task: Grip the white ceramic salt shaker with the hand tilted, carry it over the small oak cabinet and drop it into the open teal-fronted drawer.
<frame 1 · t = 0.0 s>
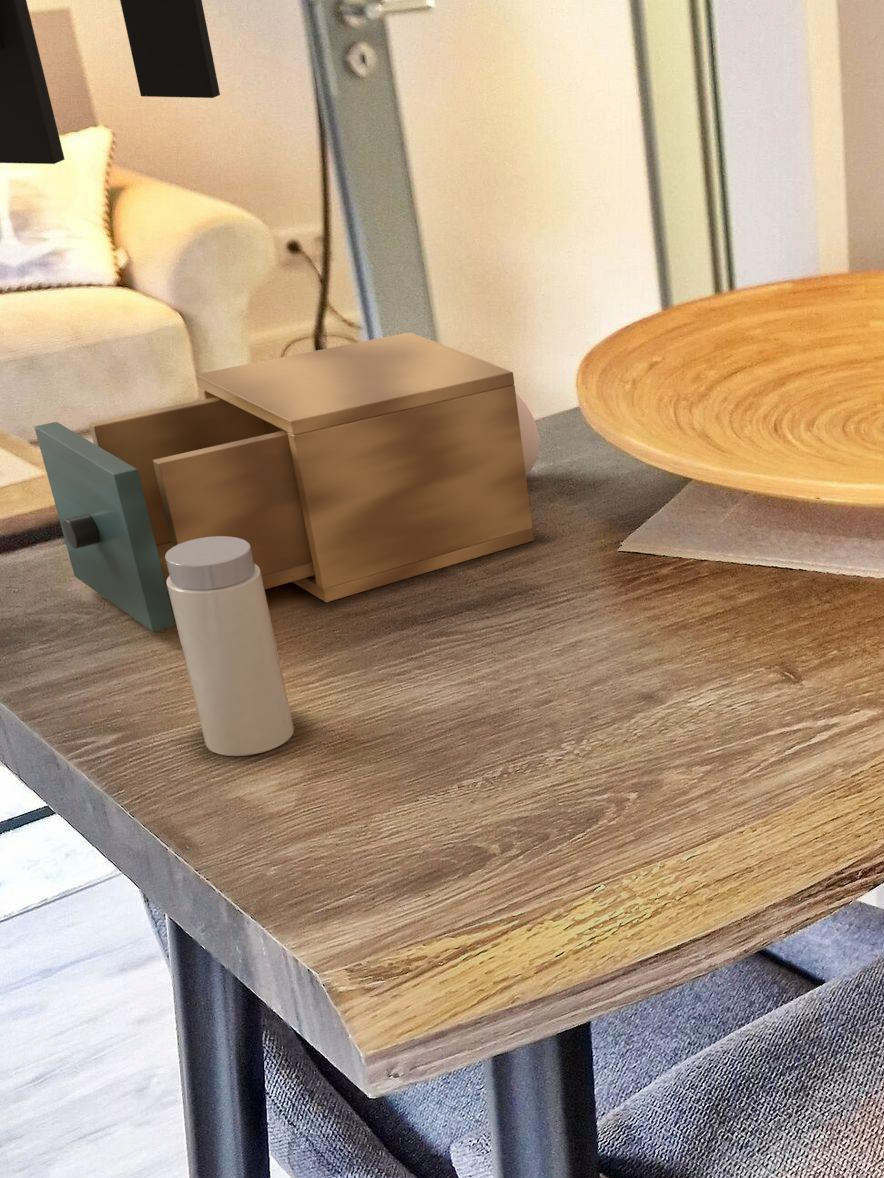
hand: (106, 126, 60), 30 cm above the table, tool pointing down, fingers open, 13 cm apart
salt shaker: (250, 736, 83), on the table
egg: (507, 486, 114), on the table
cabinet: (384, 543, 104), on the table
drawer: (197, 502, 95), point 5 cm above the table, slide at 8.0 cm
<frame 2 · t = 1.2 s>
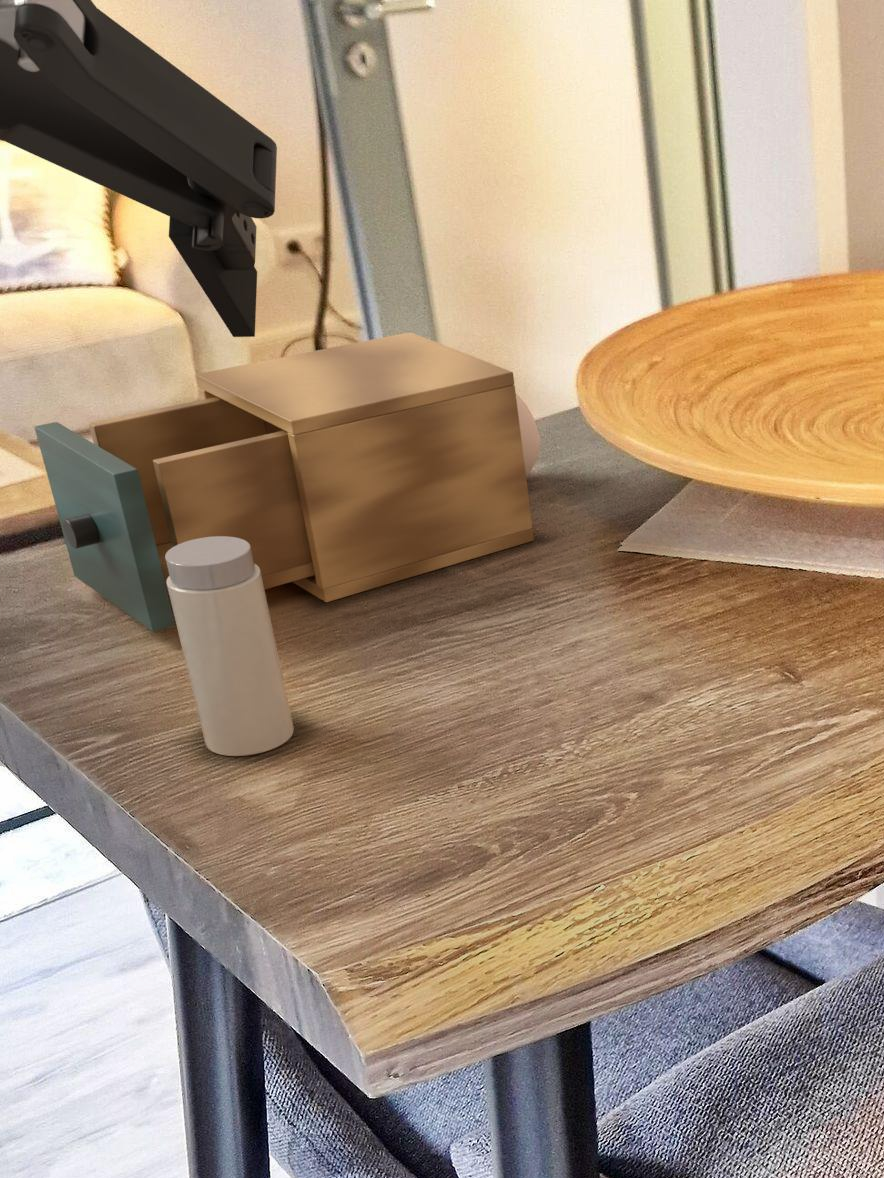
hand: (49, 307, 62), 24 cm above the table, tool tilted 45°, fingers open, 13 cm apart
nothing on the table moved.
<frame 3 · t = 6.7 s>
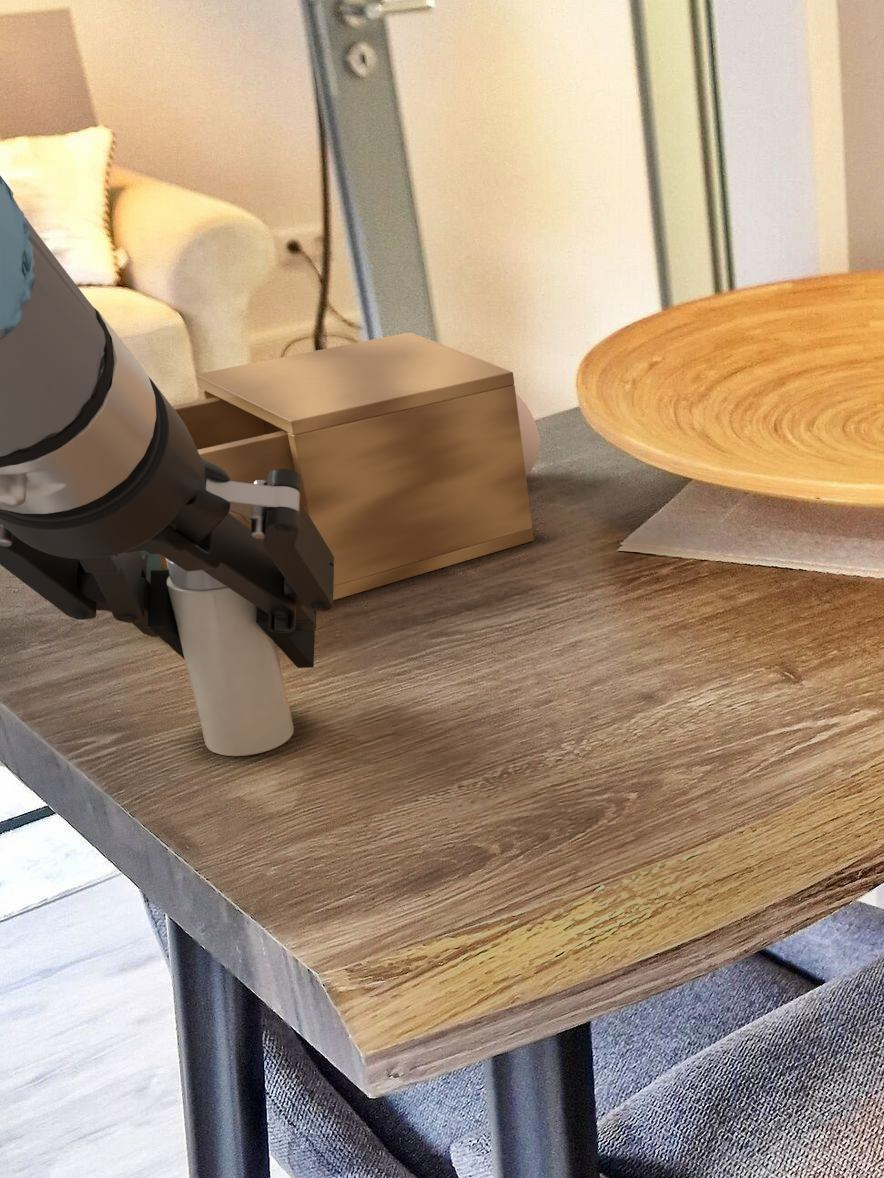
hand: (256, 643, 84), 3 cm above the table, tool tilted 45°, fingers closed on salt shaker, 4 cm apart
salt shaker: (250, 736, 83), on the table, touching gripper
everything else where it was.
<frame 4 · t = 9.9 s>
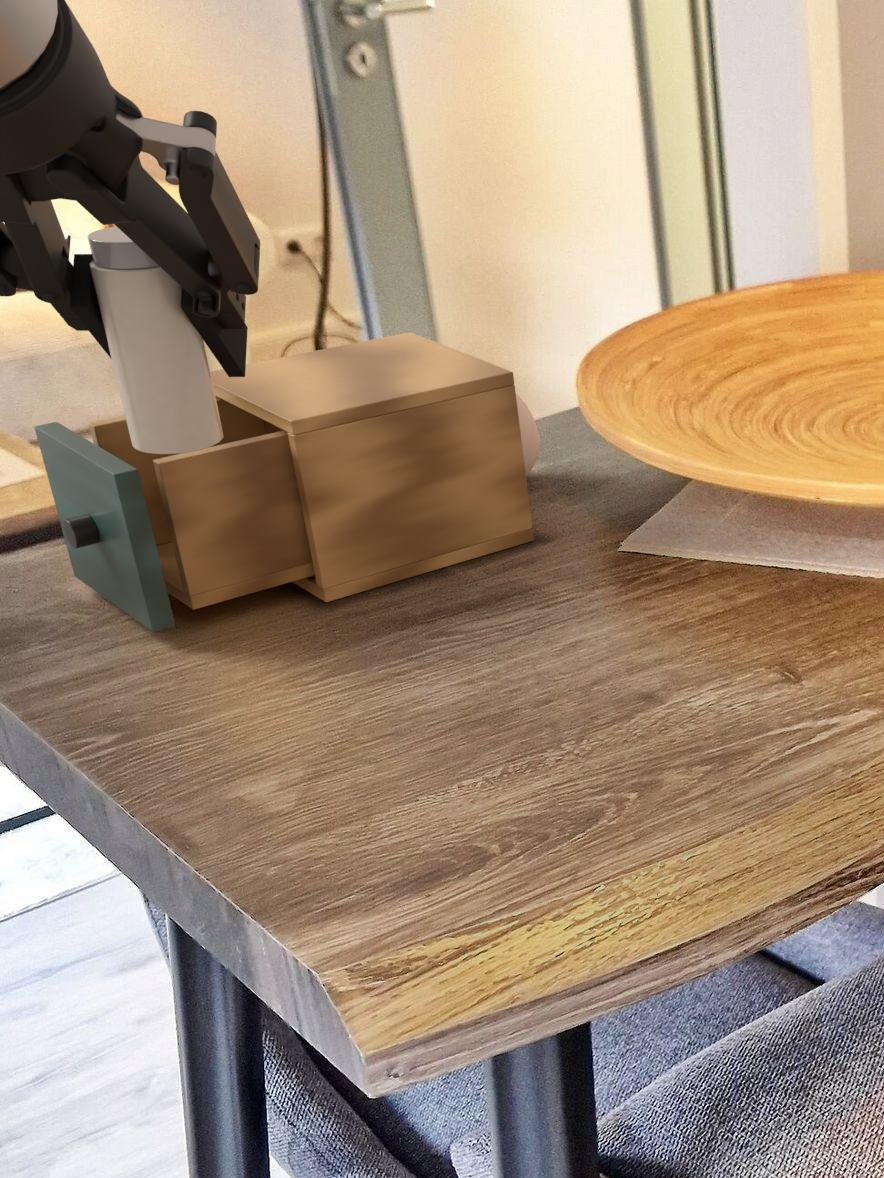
hand: (187, 351, 83), 16 cm above the table, tool tilted 45°, fingers closed on salt shaker, 4 cm apart
salt shaker: (178, 440, 81), point 13 cm above the table, touching gripper
everything else where it was.
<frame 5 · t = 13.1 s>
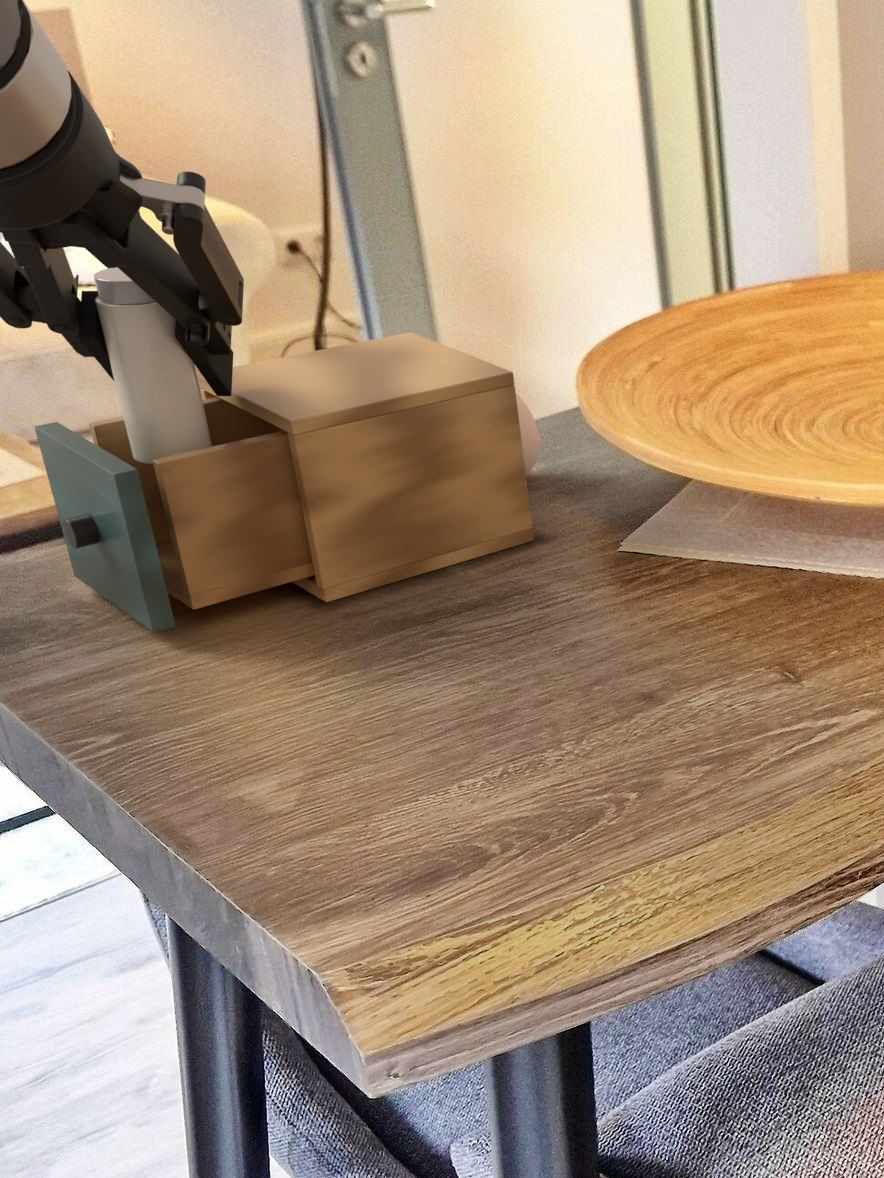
hand: (180, 374, 94), 12 cm above the table, tool tilted 45°, fingers closed on salt shaker, 4 cm apart
salt shaker: (173, 452, 93), point 8 cm above the table, touching gripper
everything else where it was.
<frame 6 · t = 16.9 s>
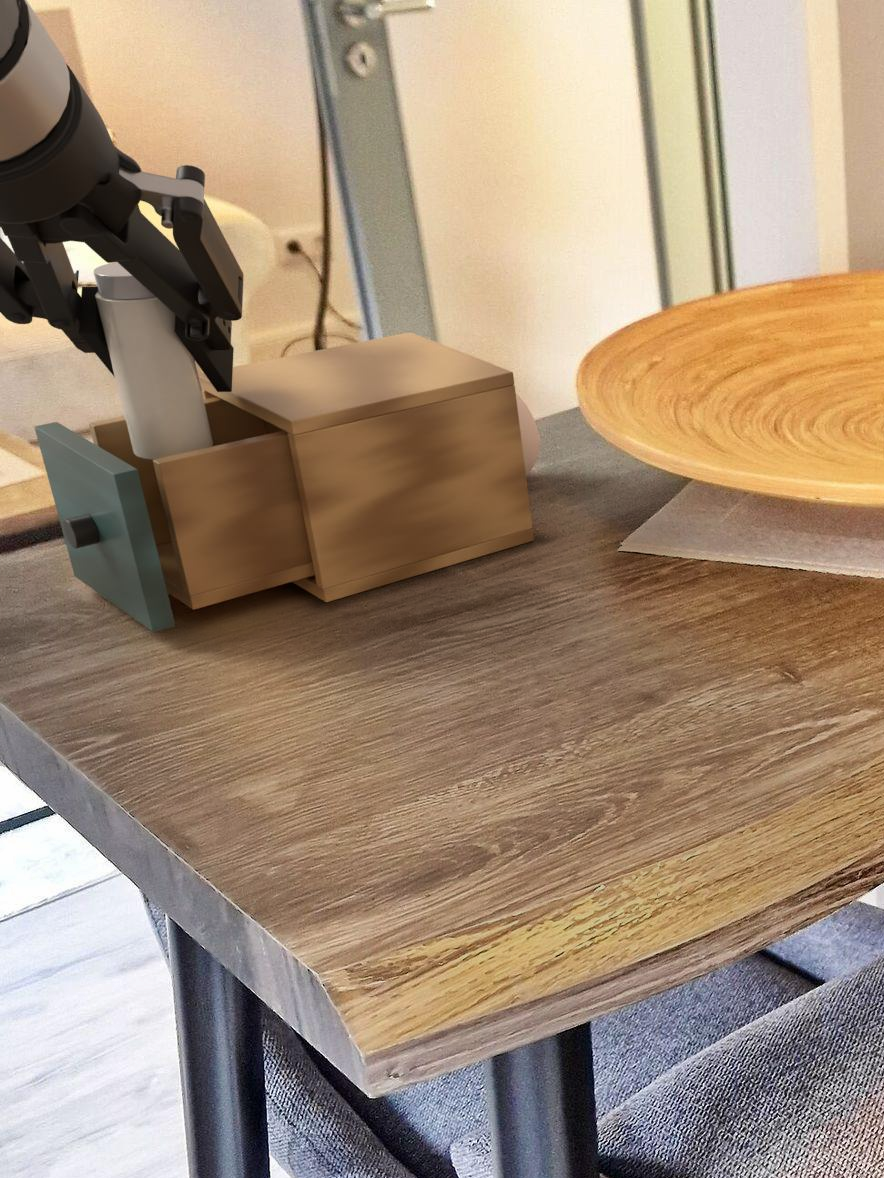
hand: (180, 370, 94), 12 cm above the table, tool tilted 45°, fingers closed on salt shaker, 4 cm apart
salt shaker: (173, 448, 93), point 9 cm above the table, touching gripper
everything else where it was.
when the fingers open (14 cm above the table, at t = 20.0 s): salt shaker drops 9 cm, resting on drawer.
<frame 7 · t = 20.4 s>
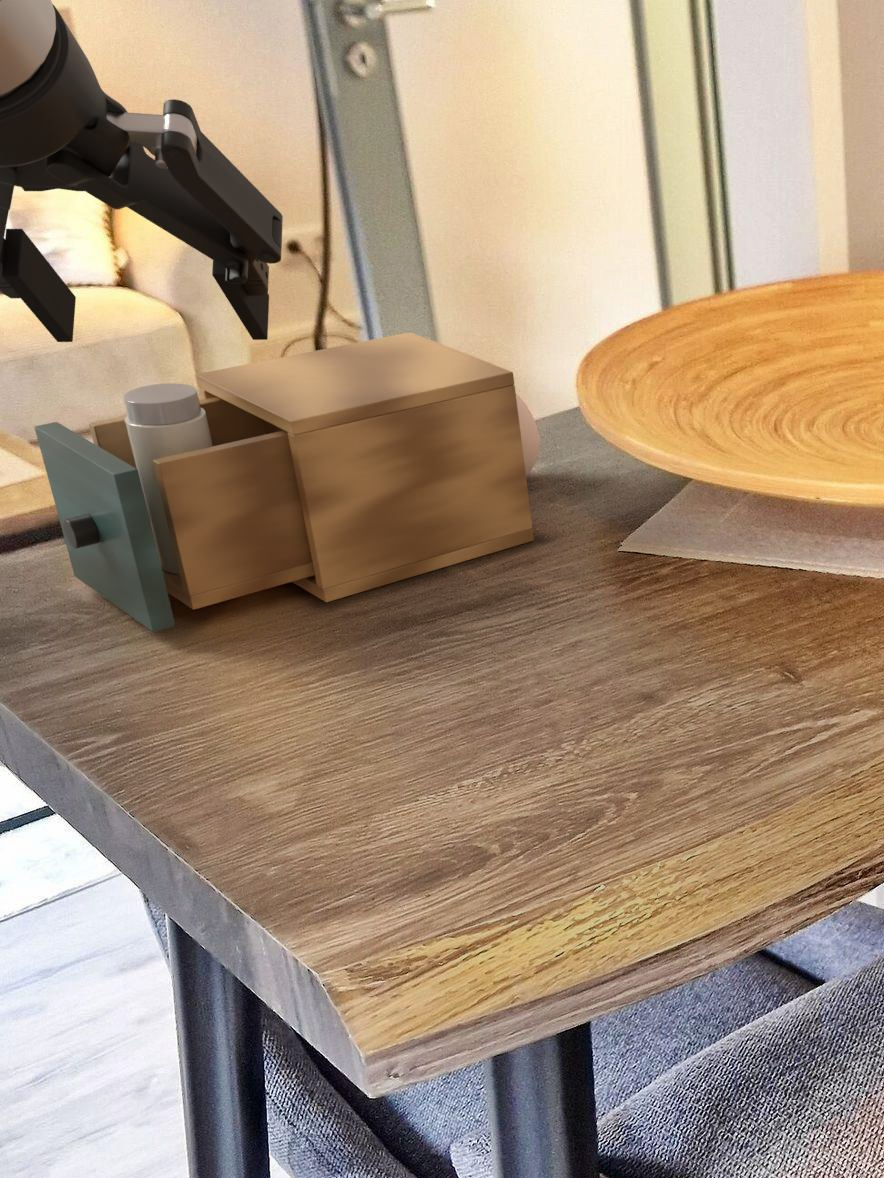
hand: (164, 318, 92), 15 cm above the table, tool tilted 45°, fingers open, 9 cm apart
salt shaker: (198, 561, 96), point 2 cm above the table, touching drawer
drawer: (197, 502, 95), point 5 cm above the table, slide at 8.0 cm, touching salt shaker
everything else where it was.
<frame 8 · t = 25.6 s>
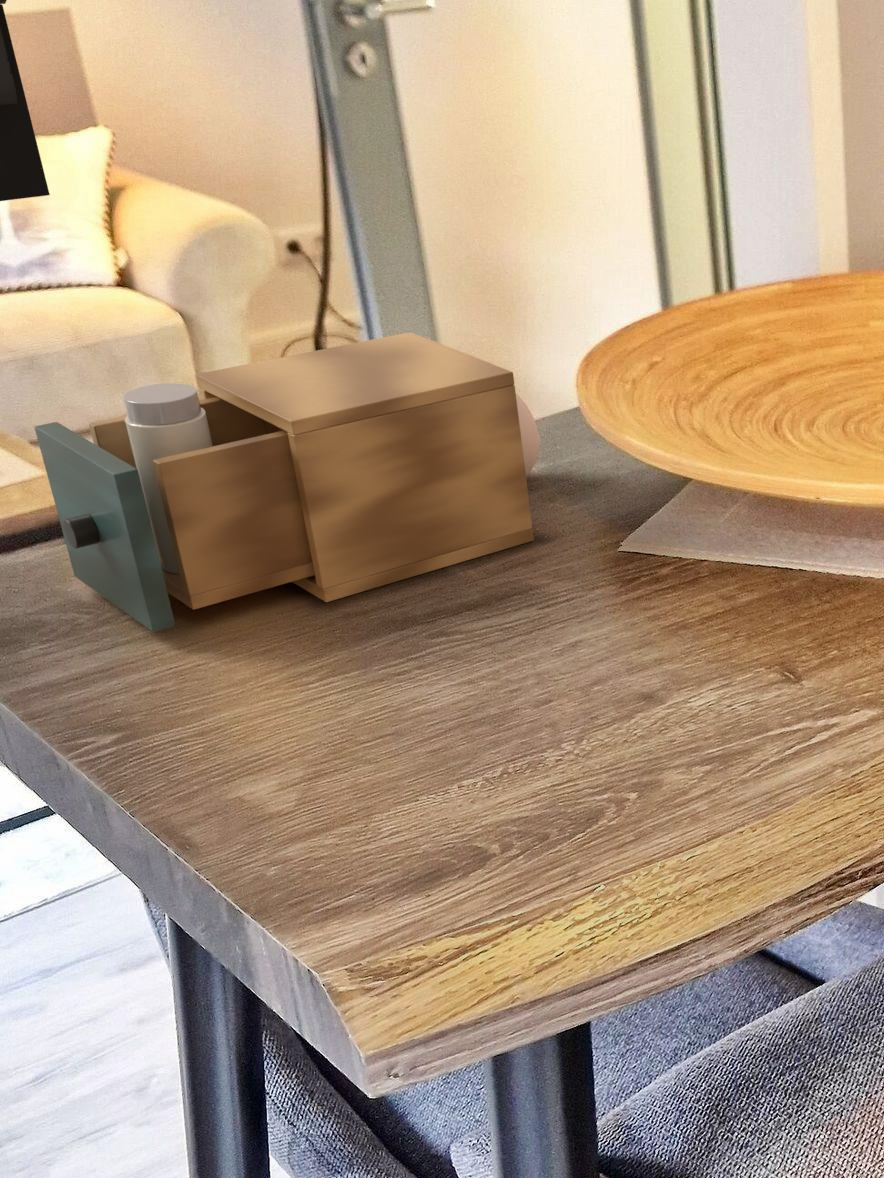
nothing on the table moved.
at the end: salt shaker inside the target area in the drawer (3.5 cm from its centre), point 2.0 cm above the cabinet's base; the gripper is holding nothing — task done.
